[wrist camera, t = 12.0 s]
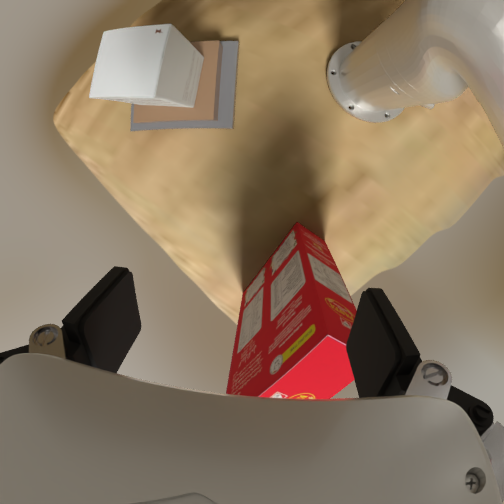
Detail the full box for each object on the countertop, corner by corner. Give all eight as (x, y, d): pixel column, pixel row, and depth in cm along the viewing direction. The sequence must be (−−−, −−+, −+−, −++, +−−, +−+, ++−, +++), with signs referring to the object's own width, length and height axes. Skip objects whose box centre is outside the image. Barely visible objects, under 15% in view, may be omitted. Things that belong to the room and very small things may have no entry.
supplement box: (152, 55, 28) (103, 28, 16) (205, 56, 28) (173, 21, 16) (141, 106, 31) (86, 98, 19) (194, 110, 31) (155, 98, 19)
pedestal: (239, 44, 30) (235, 33, 26) (233, 128, 36) (229, 127, 32) (140, 52, 31) (127, 45, 27) (135, 131, 36) (120, 131, 32)
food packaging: (269, 308, 47) (265, 440, 24) (242, 293, 46) (220, 425, 23) (324, 241, 41) (376, 360, 18) (296, 221, 40) (328, 334, 18)
